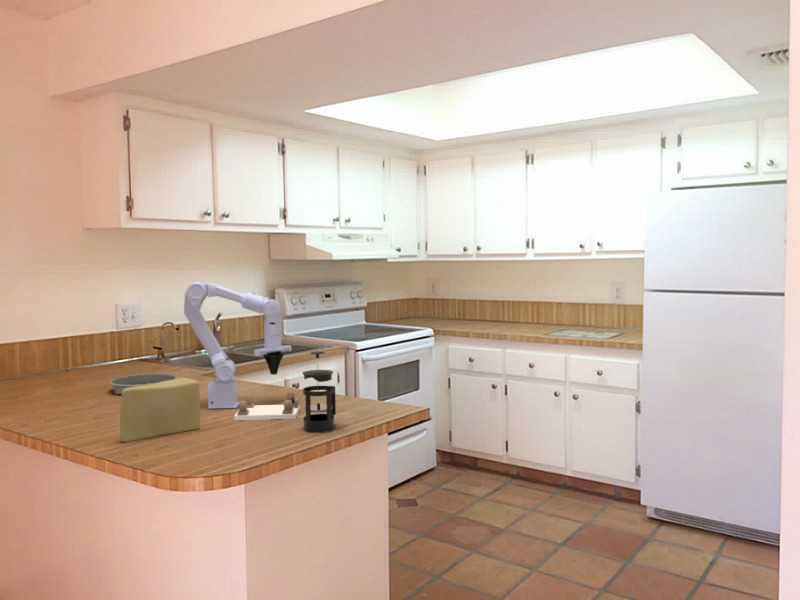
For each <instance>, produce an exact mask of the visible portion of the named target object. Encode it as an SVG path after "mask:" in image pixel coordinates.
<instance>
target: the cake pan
mask: <svg viewBox="0 0 800 600" xmlns="http://www.w3.org/2000/svg"><path fill="white" fill-rule="evenodd" d="M174 379H179V377H178V376H177V375H174V374H169V373H140V374H132V375H125V376H120V377H116V378H113V379H111V380H110V381H109V384H110V385H112V387H113V391H114V393H115V392H116V393H119V394H122V391H123V390H124V389H125V388H129V387H137V386H143V385H135V384H144V385H148V384H147V383H158V382H163V381H168V380H174ZM116 393H115V394H116Z"/></svg>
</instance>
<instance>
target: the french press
mask: <svg viewBox="0 0 800 600" xmlns="http://www.w3.org/2000/svg"><path fill="white" fill-rule="evenodd" d="M310 354H311V355H315V359H316V369H310V370H305V371H303V372H302V375H303V379H304V380H306V379H310V378H312V379H314V380H315V381H316V383H317V385H312V386H311V385H310V386H306V387H303V388H302V394H303V396H305V406H304V407H303V409H304V411H305V416H304V417H303V427H302V429H303V431H304V430H305V431H304V432H306V431H310V432H309V433H312V432H321V433H324V432H323V431H328V432H330V431H329V430H331V431H333V430H332V429H334V428H336V425H335V415H336V412H337V411H336V409H337V408H336V405H337V404H336V386H334V385H329V386H328V385H319V384H320V383H324V382H330V381H331V380H332V379H333V377H332V376H333V374H334V371H333V370H330V369H319V359H320V355H323V354H325V352H324V351H322V350H316V351H311V352H310ZM319 382H320V383H319ZM322 396H323V397H324V396H325V397H326V403H320V397H322ZM311 397H317V403H315V404H312V403H311ZM312 413H313V414H312ZM314 413H315V414H314ZM334 430H335V429H334Z"/></svg>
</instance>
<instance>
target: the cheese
mask: <svg viewBox="0 0 800 600" xmlns="http://www.w3.org/2000/svg"><path fill="white" fill-rule="evenodd" d="M200 397H201V396H200V382H199V381H198V380H196V379H191V378H187V377H178V378H177V379H174V380H168V381H163V382H158V383H153V384H148V385H143V386H137V387H129V388H125V389H124V390H123V391H122V395H121V398H120V399H121V400H120V412H119V416H120V417H119V424H120V426H119V427H120V442H123V443H129V442H130V441H131V442H136V441H140V440H145V439H151V438H157V437H160V436H161V437H163V436H165V435H166V436H167V435H171V434H176V433H181V432H188V431H194V430H199V429H200V428H201V402H200V401H201V399H200ZM135 440H136V441H135Z"/></svg>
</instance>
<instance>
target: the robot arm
mask: <svg viewBox="0 0 800 600" xmlns="http://www.w3.org/2000/svg"><path fill="white" fill-rule="evenodd" d="M213 297H220V298H223V299H227V300H230V301H234V302H236V303H240V304H241V306H242V308H243V309H246V310H248V311H252V312H255V313H258V314H264V321H263V325H264V327H263V329H264V332H263V333H264V337H263V338H264V347H261V348H257V349H253V356H256V357H260V356H263V358H264V360H265V362H266V364H267V366H268V369H269V373H270V375H274V376H275V375H278V372H279V371H278V370H279V368H280V364H281V361H282V359H283V357H284V353H285V352H291V351H292V345H290V344H287V345H286V344H285V345H282V321H281V315H280V314H281V312H282V308H281V304H280V302H278V301H277V300H275V299H273V298H272V299H270V297H269V296H266V297H265V296H262V295H259V294H257V292H255V291H252V292H250V291H247V292H246V293H242V292H241V293H240V292H238V291H235V290H233V289H230V288H227V287H225V286H222V285H220V284H217V283H212V282H205V281H203V280H196V281H193V282H191V283H190V284H188V285H187V288H186V290H185V292H184V302H183V303H184V305H183V314H184V315H185V317H186V319H187V320H188V323H189V324H190V326H191V328H192V329H193V331H194V333H195V335H196V336H197V338H198V339H199V341H200V344H202V346H203V348H204V350H205V352H206V353H207V355H208V357H209V358H210V360H211V361H210V362H211V365H212V367H213V369H214V376H215V377H216V378H214V380H209V382H208V386H207V402H208V404H207V405H208V406H207V409H208V410H209V409H210V410H211V409H236V408H238V407H239V402H240V401H238V378H237V377H236V376H235V372H236V369H237V365H236V363H235V362H234V361H233V360H232V359H230V358H229V357H228V355H227V354H226V352H225V351H224V350H223V349H222V347H221V345H220V342H218V340H217V338H216V336H215V334H214V333H213V331H212V330H211V328H210V326H209V324H208V323H207V321H206V319H205V318H204V315H203V313H202V312H201V308H202V305H203V302H204V301H205V300H206V298H213Z"/></svg>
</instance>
